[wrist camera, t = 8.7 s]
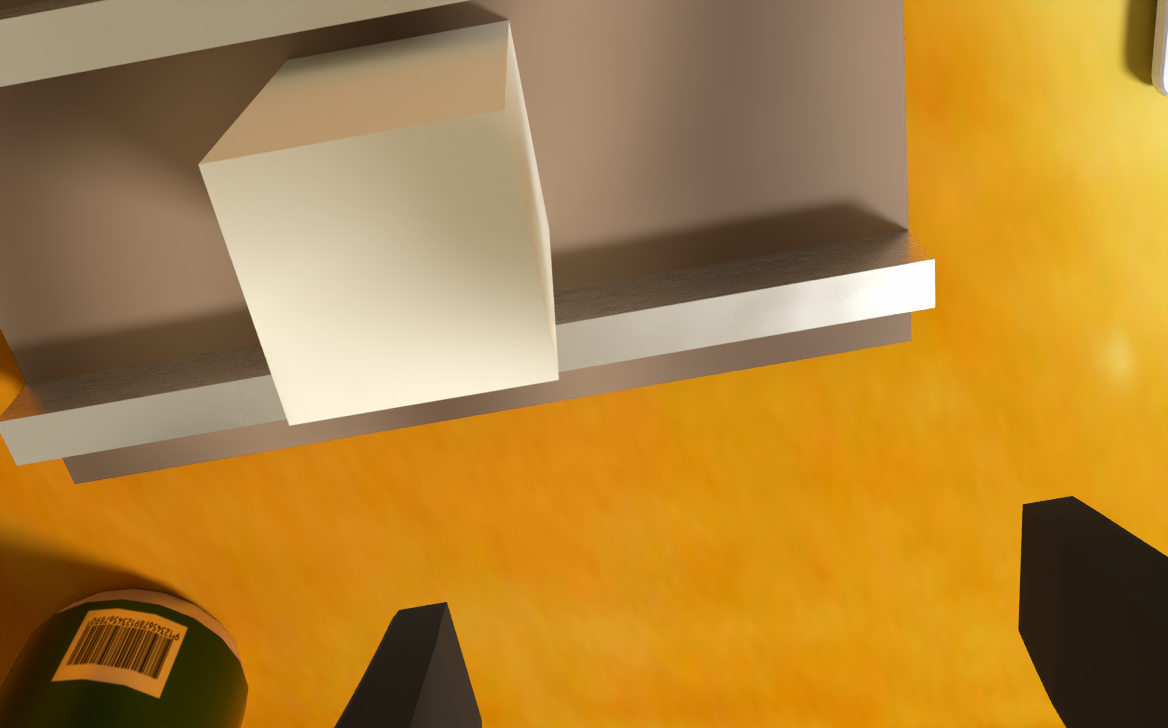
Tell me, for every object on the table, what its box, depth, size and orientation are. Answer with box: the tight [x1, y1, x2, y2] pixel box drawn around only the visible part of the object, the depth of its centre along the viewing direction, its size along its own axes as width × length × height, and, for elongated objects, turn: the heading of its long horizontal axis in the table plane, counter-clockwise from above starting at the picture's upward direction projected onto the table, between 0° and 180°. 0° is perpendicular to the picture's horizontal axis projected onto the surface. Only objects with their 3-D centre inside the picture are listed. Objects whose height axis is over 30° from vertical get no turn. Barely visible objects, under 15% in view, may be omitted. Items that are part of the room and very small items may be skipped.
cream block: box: [198, 20, 559, 426], centre depth 17 cm, size 4×4×6 cm
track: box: [0, 0, 935, 484], centre depth 20 cm, size 18×11×2 cm, turn 99°
